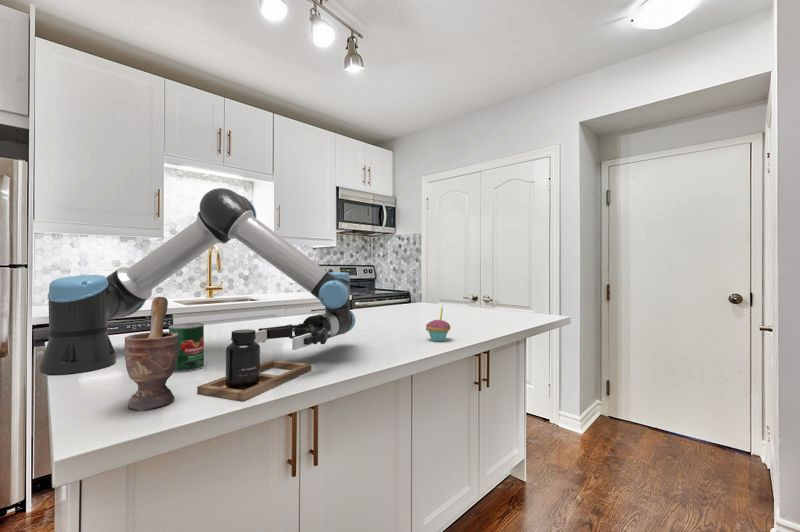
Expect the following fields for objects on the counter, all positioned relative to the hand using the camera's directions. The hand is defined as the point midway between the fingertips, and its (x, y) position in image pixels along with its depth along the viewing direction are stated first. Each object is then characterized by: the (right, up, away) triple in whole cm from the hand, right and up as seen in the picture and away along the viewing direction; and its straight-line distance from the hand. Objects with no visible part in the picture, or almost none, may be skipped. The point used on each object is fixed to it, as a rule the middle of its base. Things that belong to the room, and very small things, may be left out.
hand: (269, 341), depth 90 cm
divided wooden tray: (-1, -8, -3) cm, 9 cm away
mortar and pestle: (-18, -9, -16) cm, 25 cm away
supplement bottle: (-3, -8, -8) cm, 12 cm away
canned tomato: (-24, -8, +8) cm, 27 cm away
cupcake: (+44, -8, +43) cm, 62 cm away
